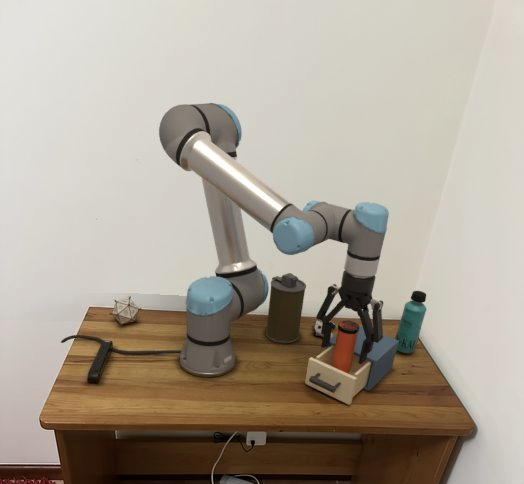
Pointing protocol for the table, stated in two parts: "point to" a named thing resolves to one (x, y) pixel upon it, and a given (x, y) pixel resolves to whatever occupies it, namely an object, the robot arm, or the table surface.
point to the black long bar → (100, 362)
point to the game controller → (318, 328)
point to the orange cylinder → (345, 345)
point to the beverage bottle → (411, 322)
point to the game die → (125, 311)
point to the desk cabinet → (375, 356)
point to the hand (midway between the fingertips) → (343, 353)
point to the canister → (285, 308)
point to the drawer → (337, 376)
